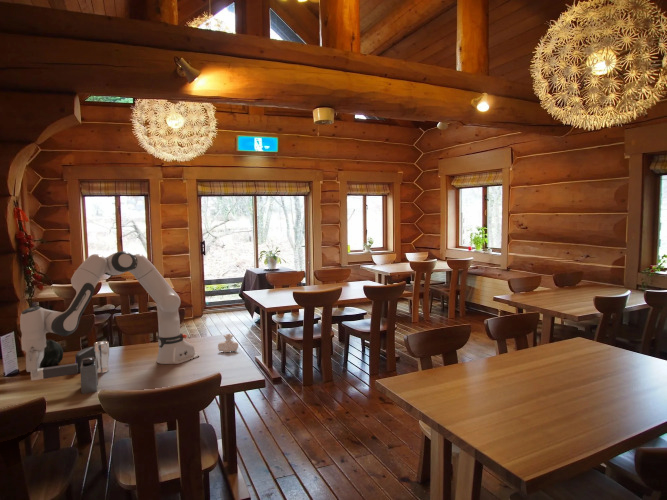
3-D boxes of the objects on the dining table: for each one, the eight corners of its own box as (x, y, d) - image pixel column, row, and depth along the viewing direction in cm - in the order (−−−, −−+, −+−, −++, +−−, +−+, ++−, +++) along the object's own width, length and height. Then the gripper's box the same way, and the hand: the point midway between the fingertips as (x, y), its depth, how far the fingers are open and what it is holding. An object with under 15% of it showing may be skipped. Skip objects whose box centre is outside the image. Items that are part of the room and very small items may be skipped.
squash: (26, 354, 232) (30, 337, 225) (58, 349, 243) (63, 333, 236) (31, 376, 225) (35, 360, 218) (63, 370, 236) (68, 354, 229)
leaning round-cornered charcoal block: (87, 363, 235) (86, 346, 234) (96, 362, 235) (95, 345, 234) (70, 373, 219) (69, 355, 218) (79, 373, 219) (78, 355, 218)
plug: (78, 371, 198) (77, 362, 197) (77, 373, 195) (77, 364, 195) (32, 378, 190) (31, 369, 190) (31, 380, 187) (30, 371, 187)
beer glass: (103, 374, 217) (102, 345, 216) (91, 373, 219) (90, 344, 218) (113, 369, 224) (112, 341, 223) (101, 368, 226) (100, 340, 224)
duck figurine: (238, 354, 254) (240, 336, 260) (236, 350, 247) (238, 331, 254) (218, 355, 253) (220, 337, 260) (215, 350, 247) (218, 332, 253)
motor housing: (97, 383, 205) (96, 354, 204) (96, 391, 195) (95, 361, 194) (83, 385, 203) (81, 356, 202) (81, 393, 193) (79, 363, 192)
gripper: (38, 349, 180) (41, 381, 181) (46, 337, 199) (48, 366, 200) (20, 352, 177) (22, 384, 179) (29, 339, 196) (31, 369, 197)
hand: (36, 375), depth 189 cm, fingers closed on plug, 3 cm apart
